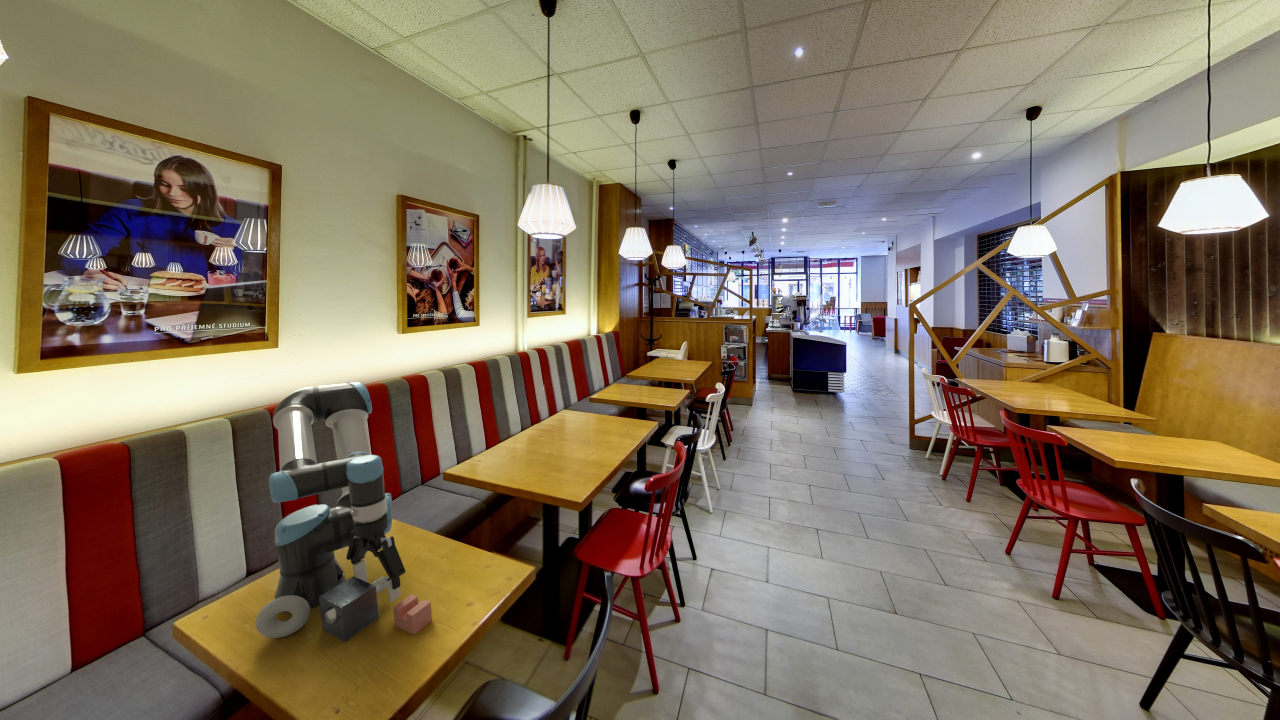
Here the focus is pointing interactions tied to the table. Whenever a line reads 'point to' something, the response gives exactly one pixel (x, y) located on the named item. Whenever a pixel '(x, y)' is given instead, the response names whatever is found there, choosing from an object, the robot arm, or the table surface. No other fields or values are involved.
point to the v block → (412, 614)
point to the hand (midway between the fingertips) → (378, 591)
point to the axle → (380, 585)
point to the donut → (282, 628)
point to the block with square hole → (350, 607)
